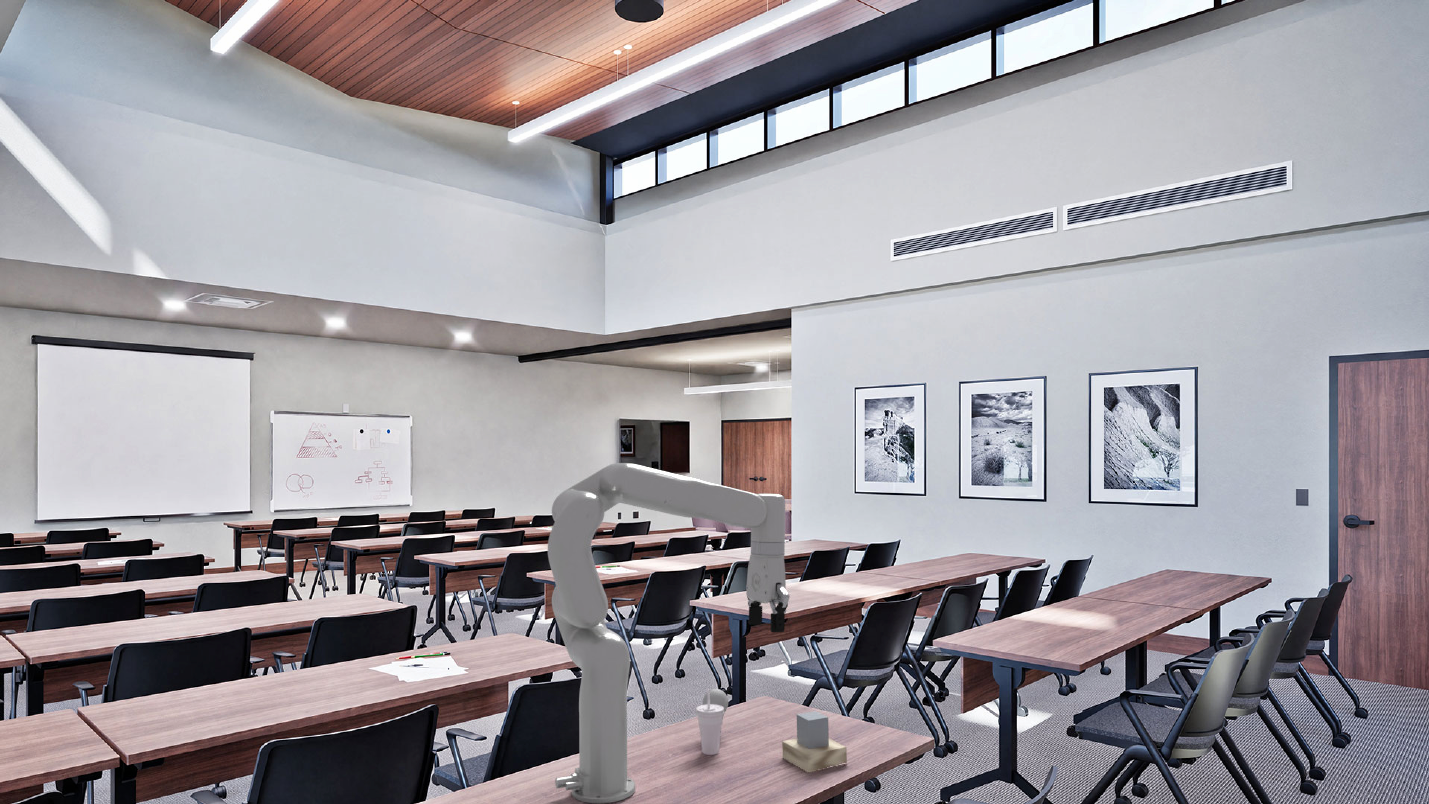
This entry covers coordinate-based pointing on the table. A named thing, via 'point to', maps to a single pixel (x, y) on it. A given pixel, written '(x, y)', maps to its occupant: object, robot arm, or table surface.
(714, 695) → the lightbulb
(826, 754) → the maple block
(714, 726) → the smoothie
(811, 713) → the grey block
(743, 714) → the table surface
